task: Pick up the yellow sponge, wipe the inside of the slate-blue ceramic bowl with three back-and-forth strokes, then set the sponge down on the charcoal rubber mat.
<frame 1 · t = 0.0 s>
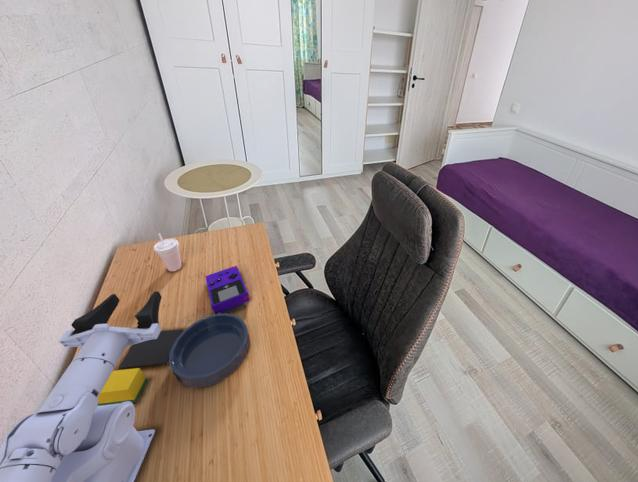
hand: (137, 295, 57), 22 cm above the table, tool horizontal, fingers open, 7 cm apart
smoothie: (175, 267, 93), on the table
handheld gaming console: (228, 294, 85), on the table
sponge: (124, 392, 61), on the table
bowl: (214, 353, 69), on the table
mat: (153, 348, 70), on the table
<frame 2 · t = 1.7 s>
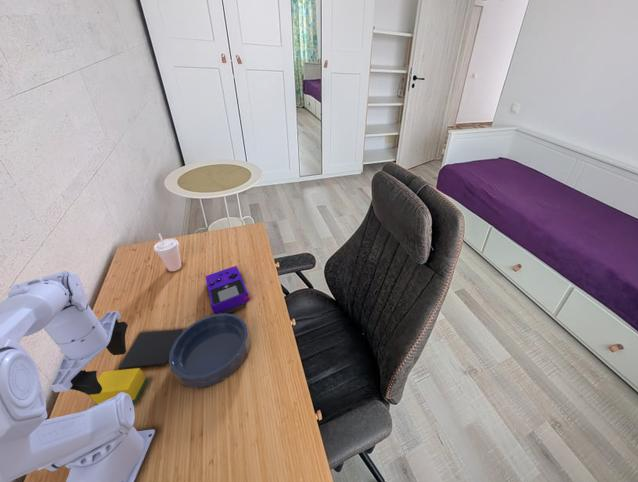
hand: (108, 371, 57), 8 cm above the table, tool pointing down, fingers open, 7 cm apart
nothing on the table moved.
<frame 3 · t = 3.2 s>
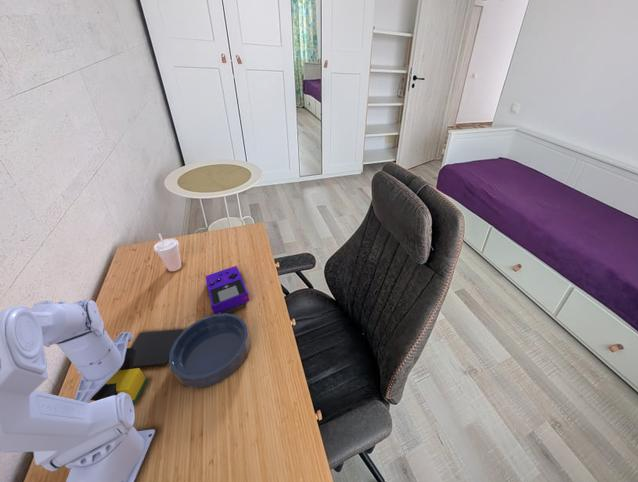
hand: (121, 389, 60), 1 cm above the table, tool pointing down, fingers closed on sponge, 4 cm apart
sponge: (124, 393, 61), on the table, touching gripper
everything else where it was.
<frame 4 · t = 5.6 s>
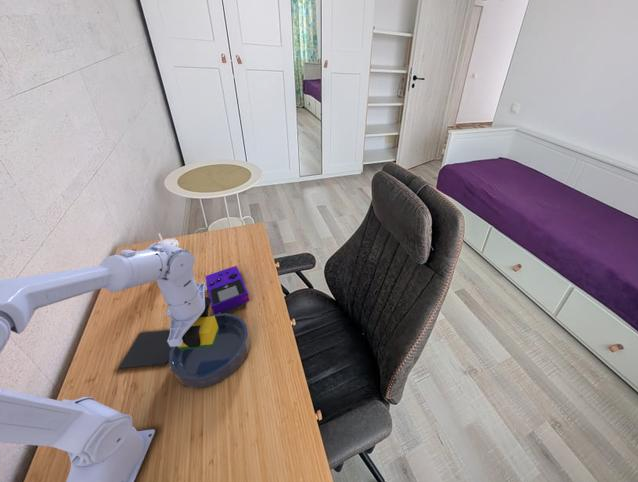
hand: (199, 335, 65), 8 cm above the table, tool pointing down, fingers closed on sponge, 4 cm apart
sponge: (200, 339, 65), point 7 cm above the table, touching gripper
everything else where it was.
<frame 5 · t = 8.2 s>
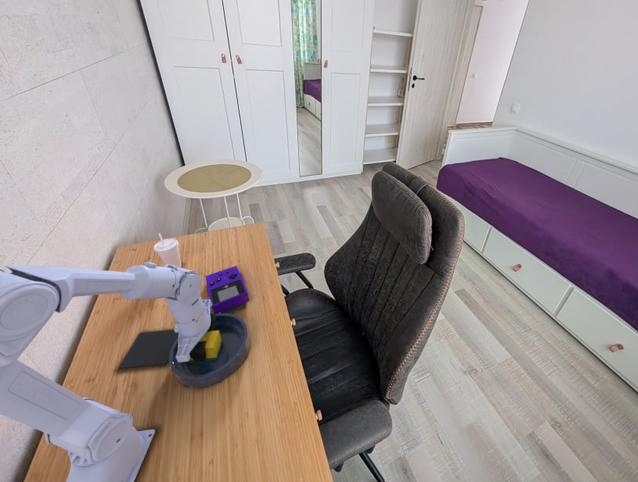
hand: (204, 349, 68), 2 cm above the table, tool pointing down, fingers closed on sponge, 4 cm apart
sponge: (204, 352, 69), point 1 cm above the table, touching gripper
everything else where it was.
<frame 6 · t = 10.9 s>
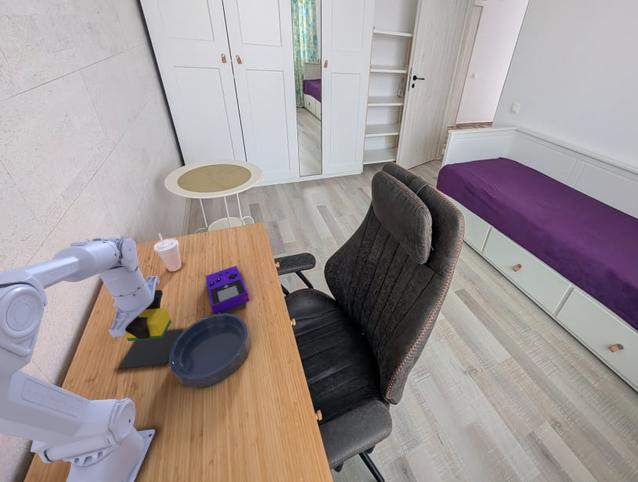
hand: (150, 327, 65), 8 cm above the table, tool pointing down, fingers closed on sponge, 4 cm apart
sponge: (150, 331, 66), point 7 cm above the table, touching gripper
everything else where it was.
when the fingers open (2 cm above the table, at t = 13.1 s): sponge stays where it is, resting on mat.
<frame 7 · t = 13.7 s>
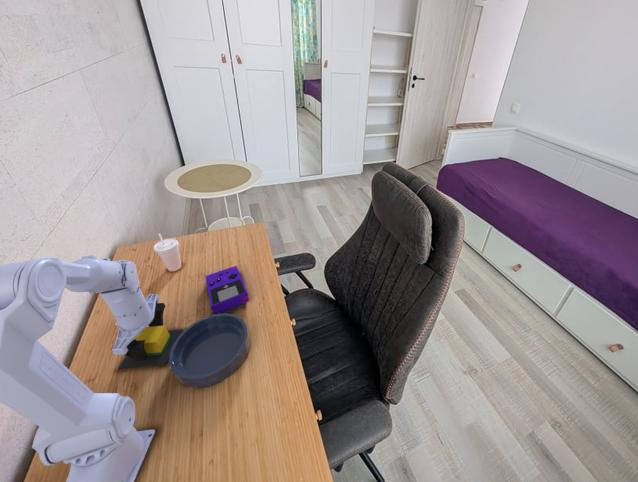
hand: (150, 343, 69), 2 cm above the table, tool pointing down, fingers open, 7 cm apart
sponge: (151, 347, 69), resting on mat
everything else where it was.
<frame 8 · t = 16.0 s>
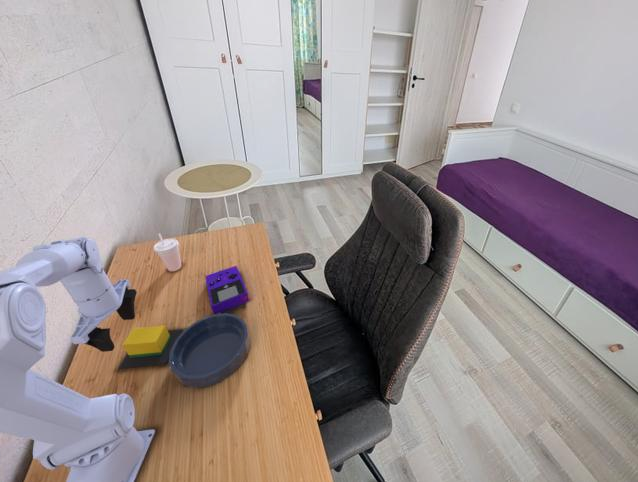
hand: (119, 333, 63), 9 cm above the table, tool pointing down, fingers open, 7 cm apart
nothing on the table moved.
at the end: sponge inside the target area on the mat (0.2 cm from its centre), point 0.5 cm above the mat's base; the gripper is holding nothing; sponge tilted 0° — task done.
